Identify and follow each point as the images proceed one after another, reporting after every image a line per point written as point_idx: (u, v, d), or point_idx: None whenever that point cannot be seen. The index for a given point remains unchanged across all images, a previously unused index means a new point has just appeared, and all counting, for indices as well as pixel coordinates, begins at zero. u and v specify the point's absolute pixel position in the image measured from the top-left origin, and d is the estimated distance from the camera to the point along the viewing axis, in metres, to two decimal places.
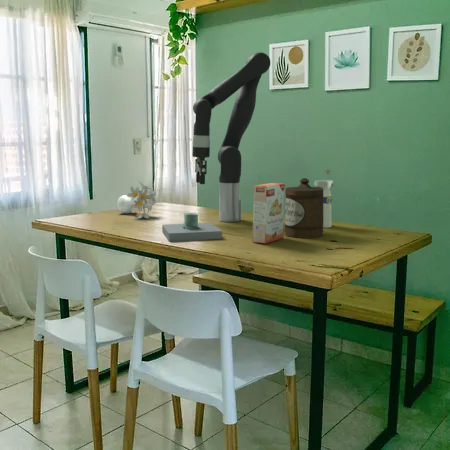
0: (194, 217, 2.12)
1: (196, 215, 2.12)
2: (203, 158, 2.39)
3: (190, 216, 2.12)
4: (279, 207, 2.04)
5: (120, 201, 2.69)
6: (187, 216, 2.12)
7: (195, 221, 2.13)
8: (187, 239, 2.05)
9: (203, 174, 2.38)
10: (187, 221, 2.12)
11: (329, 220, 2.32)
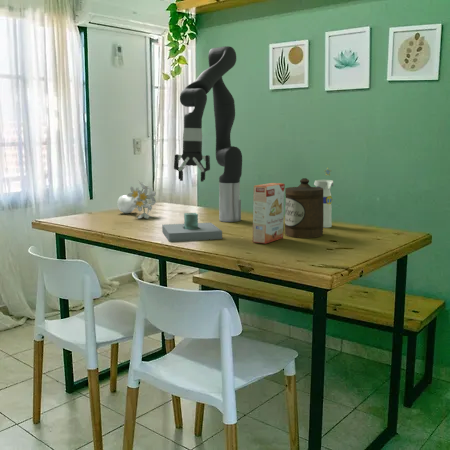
0: (194, 217, 2.12)
1: (196, 215, 2.12)
2: (201, 153, 2.20)
3: (190, 216, 2.12)
4: (279, 207, 2.04)
5: (120, 201, 2.69)
6: (187, 216, 2.12)
7: (195, 221, 2.13)
8: (187, 239, 2.05)
9: (207, 170, 2.20)
10: (187, 221, 2.12)
11: (329, 220, 2.32)
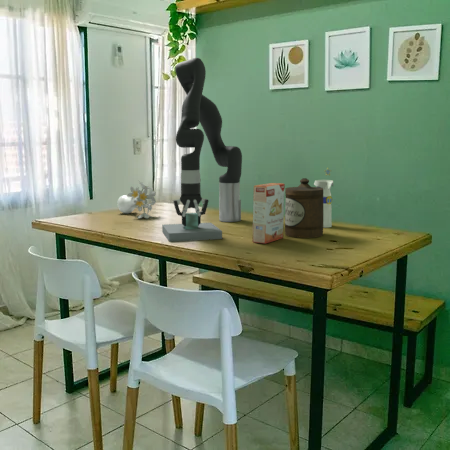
0: (194, 217, 2.12)
1: (196, 215, 2.12)
2: None
3: (190, 216, 2.12)
4: (279, 207, 2.04)
5: (120, 201, 2.69)
6: (187, 216, 2.12)
7: (195, 221, 2.13)
8: (187, 239, 2.05)
9: None
10: (187, 221, 2.12)
11: (329, 220, 2.32)
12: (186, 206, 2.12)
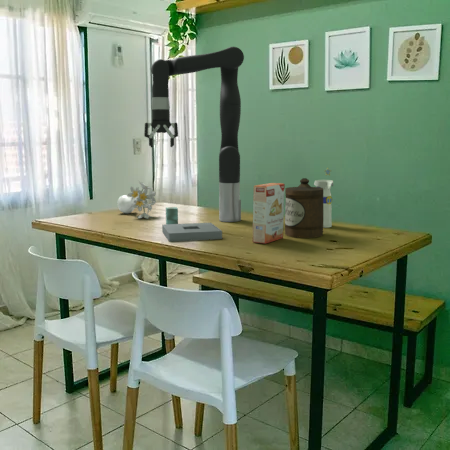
0: (174, 211, 2.29)
1: (176, 209, 2.29)
2: None
3: (170, 210, 2.28)
4: (279, 207, 2.04)
5: (120, 201, 2.69)
6: (168, 210, 2.28)
7: (175, 215, 2.29)
8: (187, 239, 2.05)
9: (176, 136, 2.39)
10: (168, 215, 2.28)
11: (329, 220, 2.32)
12: (155, 129, 2.35)
